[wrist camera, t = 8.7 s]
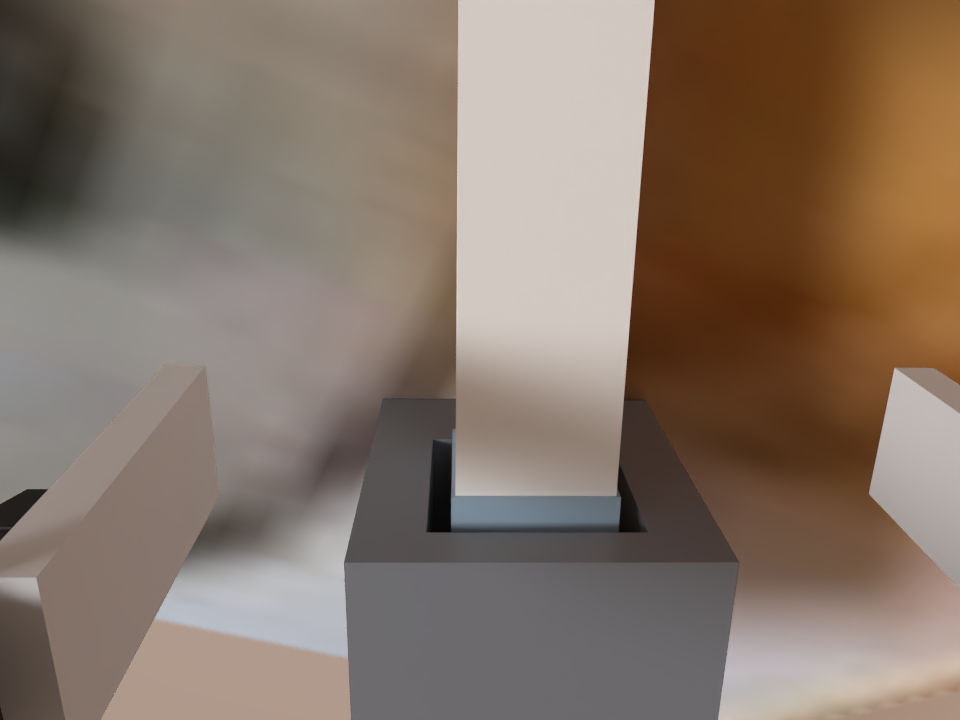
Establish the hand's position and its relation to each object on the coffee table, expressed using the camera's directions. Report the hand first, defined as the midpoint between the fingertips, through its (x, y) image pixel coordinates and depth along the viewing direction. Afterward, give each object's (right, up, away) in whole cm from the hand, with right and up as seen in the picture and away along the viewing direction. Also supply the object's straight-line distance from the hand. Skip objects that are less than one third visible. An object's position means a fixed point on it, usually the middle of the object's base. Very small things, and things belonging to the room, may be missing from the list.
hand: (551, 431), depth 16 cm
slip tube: (0, +5, +6) cm, 8 cm away
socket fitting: (0, -3, +13) cm, 14 cm away
